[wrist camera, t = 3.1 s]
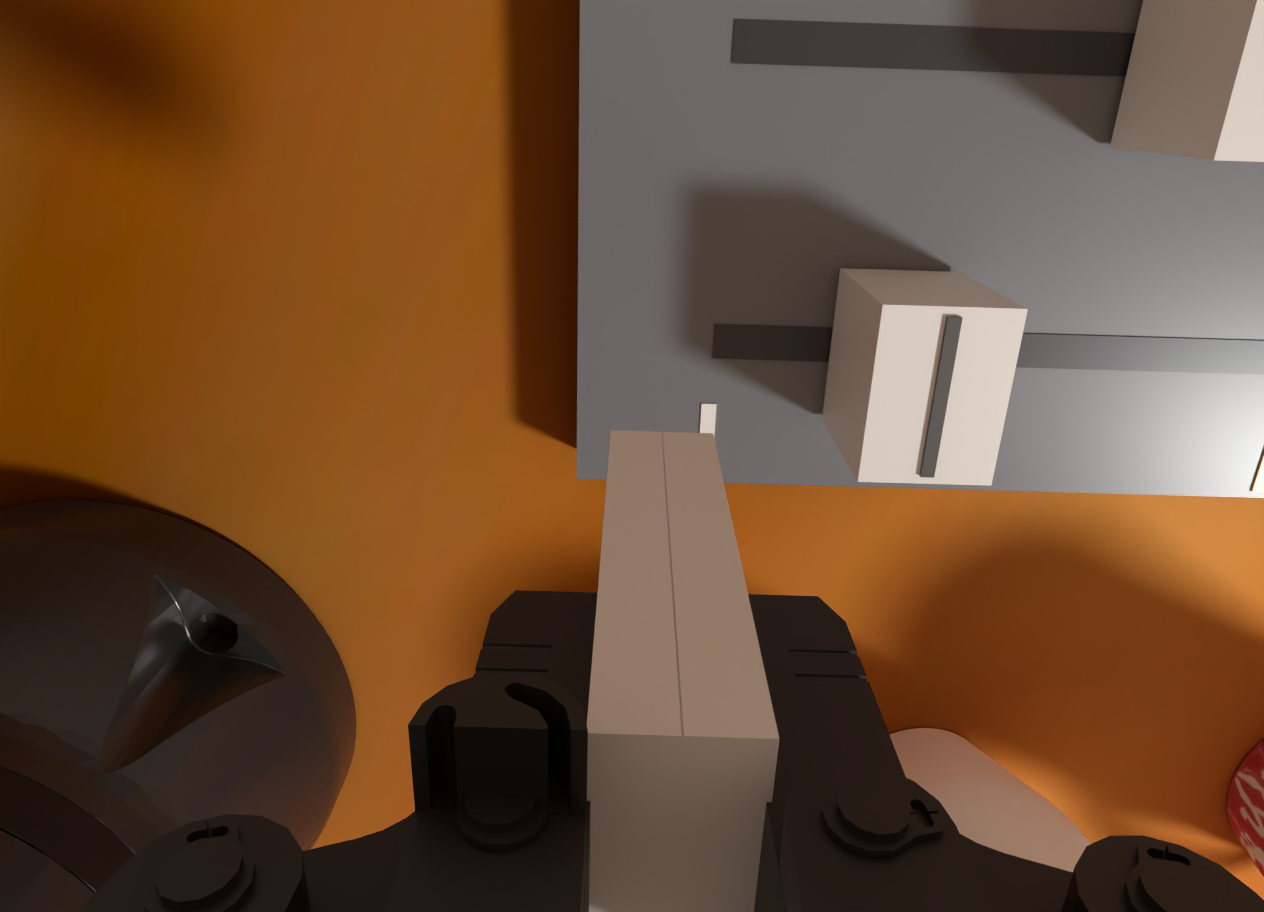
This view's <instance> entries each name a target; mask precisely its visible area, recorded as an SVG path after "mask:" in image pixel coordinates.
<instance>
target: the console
mask: <svg viewBox="0 0 1264 912" xmlns="http://www.w3.org/2000/svg"><path fill="white" fill-rule="evenodd" d="M1142 3H1143V0H580V47H579V194H578V342H577V479H601V480H607V471H608V459H609V447H610V435H611V430H623V431H655V432H687V433H713V435H714V440H715V444H716V449H717V454H718V458H719V463H720V467H721V472H722V477H723V481H724V483H745V484H782V485H818V486H854V487H890V488H927V489H963V490H999V491H1035V492H1072V493H1108V494H1144V495H1180V496H1217V497H1253V498H1264V162H1249V161H1218V160H1206V159H1198V158H1190V157H1181V156H1173V155H1165V154H1156V153H1148V152H1140V151H1131V150H1123V149H1115V148H1110V144H1111V140H1112V136H1113V131H1114V127H1115V122H1116V118H1117V114H1118V109H1119V105H1120V100H1121V96H1122V91H1123V87H1124V83H1125V78H1126V74H1127V69H1128V65H1129V61H1130V56H1131V52H1132V47H1133V43H1134V38H1135V34H1136V30H1137V25H1138V21H1139V16H1140V12H1141V8H1142ZM840 268H849V269H881V270H914V271H947V272H962V273H964V274H965V275H967V276H969V277H971V278H973V279H974V280H976V281H978V282H980V283H982V284H984V285H985V286H987V287H989V288H991V289H993V290H994V291H996V292H998V293H1000V294H1002V295H1003V296H1005V297H1007V298H1009V299H1011V300H1013V301H1014V302H1016V303H1018V304H1020V305H1022V306H1023V307H1025V308H1027V309H1028V311H1027V316H1026V321H1025V325H1024V330H1023V335H1022V340H1021V345H1020V350H1019V354H1018V359H1017V364H1016V369H1015V374H1014V379H1013V384H1012V388H1011V393H1010V398H1009V403H1008V408H1007V413H1006V417H1005V422H1004V427H1003V432H1002V437H1001V442H1000V447H999V451H998V456H997V461H996V466H995V471H994V476H993V480H992V485H991V486H987V485H951V484H915V483H879V482H857V480H856V478H855V476H854V475H853V473H852V471H851V469H850V468H849V466H848V464H847V463H846V461H845V459H844V457H843V456H842V454H841V452H840V450H839V449H838V447H837V445H836V444H835V442H834V440H833V438H832V437H831V435H830V433H829V431H828V430H827V428H826V426H825V424H824V423H823V421H822V414H823V406H824V398H825V389H826V381H827V373H828V365H829V356H830V348H831V340H832V331H833V323H834V315H835V307H836V298H837V290H838V282H839V274H840Z"/></svg>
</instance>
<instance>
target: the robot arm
mask: <svg viewBox="0 0 1264 912" xmlns="http://www.w3.org/2000/svg"><path fill="white" fill-rule="evenodd" d="M408 729H409V741H410V753H411V765H412V777H413V789H414V801H415V812H413V813H412V814H411V815H410V816H408V817H407V818H405V819H403V820H402V821H400V822H398V823H396V824H394V825H392V826H390V827H388V828H386V829H384V830H382V831H379V832H376V833H373V834H370V835H367V836H364V837H361V838H357V839H354V840H349V841H345V842H341V843H336V844H332V845H328V846H323V847H319V848H315V849H311V848H312V847H313V845H314V844H315V842H316V841H317V839H318V837H319V836H320V834H321V832H322V831H323V829H324V827H325V825H326V823H327V821H328V819H329V816H330V814H331V812H332V809H333V807H334V805H335V802H336V800H337V798H338V795H339V793H340V790H341V788H342V786H343V783H344V781H345V778H346V776H347V774H348V771H349V768H350V765H351V761H352V757H353V752H354V746H355V738H356V714H355V705H354V699H353V694H352V690H351V686H350V682H349V679H348V676H347V673H346V670H345V668H344V665H343V663H342V661H341V658H340V656H339V654H338V652H337V650H336V648H335V646H334V644H333V643H332V641H331V639H330V637H329V636H328V634H327V633H326V631H325V629H324V628H323V626H322V625H321V624H320V622H319V621H318V620H317V618H316V617H315V615H314V614H313V613H312V612H311V610H310V609H309V608H308V607H307V606H306V604H305V603H304V602H303V601H302V600H301V599H300V598H299V597H298V596H297V595H296V594H295V593H294V592H293V591H292V589H291V588H290V587H289V586H287V585H286V584H285V583H284V582H283V581H282V580H281V579H280V578H279V577H277V576H276V575H275V574H274V573H273V572H271V571H270V570H269V569H268V568H266V567H265V566H264V565H263V564H261V563H260V562H259V561H257V560H256V559H254V558H253V557H251V556H250V555H249V554H247V553H246V552H244V551H242V550H241V549H239V548H238V547H236V546H234V545H233V544H231V543H229V542H228V541H226V540H224V539H222V538H220V537H218V536H216V535H214V534H212V533H210V532H208V531H206V530H204V529H202V528H199V527H197V526H195V525H193V524H190V523H188V522H185V521H182V520H180V519H177V518H174V517H171V516H168V515H165V514H162V513H159V512H155V511H151V510H147V509H144V508H140V507H135V506H130V505H124V504H119V503H111V502H103V501H91V500H54V501H42V502H36V503H29V504H23V505H19V506H14V507H10V508H6V509H3V510H0V912H1264V900H1263V899H1262V898H1261V897H1260V896H1259V895H1258V894H1256V893H1255V892H1254V891H1253V890H1252V889H1250V888H1249V887H1248V886H1246V885H1245V884H1244V883H1242V882H1241V881H1240V880H1239V879H1237V878H1236V877H1235V876H1233V875H1232V874H1231V873H1230V872H1228V871H1227V870H1226V869H1224V868H1223V867H1222V866H1220V865H1219V864H1217V863H1215V862H1213V861H1211V860H1209V859H1207V858H1205V857H1203V856H1201V855H1199V854H1197V853H1195V852H1193V851H1191V850H1189V849H1187V848H1185V847H1183V846H1180V845H1176V844H1173V843H1169V842H1165V841H1161V840H1157V839H1154V838H1150V837H1146V836H1109V837H1106V838H1104V839H1102V840H1100V841H1097V842H1095V843H1093V844H1090V845H1088V846H1086V848H1085V850H1084V851H1083V853H1082V855H1081V856H1080V858H1079V860H1078V862H1077V863H1076V865H1075V868H1074V871H1073V872H1070V871H1066V870H1063V869H1059V868H1055V867H1052V866H1048V865H1045V864H1041V863H1038V862H1034V861H1031V860H1027V859H1024V858H1020V857H1016V856H1013V855H1009V854H1006V853H1003V852H1000V851H997V850H995V849H992V848H989V847H986V846H984V845H981V844H978V843H976V842H974V841H973V840H971V839H969V838H967V837H965V836H963V835H962V834H960V833H959V831H958V829H957V826H956V825H955V823H954V822H953V820H952V819H951V817H950V816H949V814H948V813H947V811H946V810H945V808H944V807H943V806H942V804H941V803H940V801H939V800H937V799H936V798H935V797H934V796H932V795H931V794H930V793H928V792H927V791H926V790H925V789H923V788H922V787H921V786H920V785H918V784H917V783H916V782H914V781H913V780H910V779H908V778H906V776H905V774H904V771H903V768H902V766H901V763H900V761H899V758H898V756H897V753H896V750H895V748H894V745H893V743H892V740H891V738H890V735H889V732H888V730H887V727H886V725H885V722H884V720H883V717H882V714H881V712H880V709H879V707H878V704H877V702H876V699H875V697H874V694H873V691H872V689H871V686H870V684H869V682H867V681H866V673H865V671H864V668H863V666H862V663H861V661H860V658H859V657H857V650H856V648H855V645H854V643H853V640H852V637H851V635H850V632H849V630H848V627H847V625H846V622H845V621H844V620H843V619H842V618H841V617H840V616H839V615H837V614H836V613H835V612H834V611H833V610H832V609H831V608H830V607H829V606H828V605H827V604H826V603H825V602H823V601H822V600H821V599H820V598H819V597H818V596H786V595H753V594H748V592H747V587H746V583H745V578H744V573H743V569H742V564H741V560H740V555H739V550H738V546H737V541H736V537H735V532H734V527H733V523H732V518H731V514H730V509H729V504H728V500H727V495H726V491H725V486H724V481H723V477H722V472H721V467H720V463H719V458H718V454H717V449H716V444H715V440H714V435H713V433H687V432H655V431H623V430H611V435H610V447H609V459H608V471H607V484H606V496H605V508H604V520H603V532H602V545H601V557H600V569H599V581H598V593H584V592H551V591H517V590H516V591H515V592H514V593H513V594H511V595H510V596H509V597H508V598H507V599H506V600H505V601H504V602H503V603H502V604H501V605H500V606H499V607H498V608H497V609H496V610H495V611H494V612H493V613H492V614H491V616H490V619H489V623H488V627H487V630H486V634H485V637H484V641H483V648H482V649H481V651H480V655H479V658H478V662H477V666H476V674H474V676H473V677H472V678H469V679H466V680H463V681H460V682H457V683H455V684H452V685H449V686H446V687H445V688H444V689H442V690H441V691H439V692H438V693H436V694H435V695H434V696H432V697H431V698H429V699H428V700H426V701H425V702H424V703H422V705H421V706H420V708H419V709H418V711H417V712H416V714H415V716H414V717H413V719H412V720H411V722H410V723H409V725H408ZM310 849H311V850H310Z"/></svg>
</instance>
